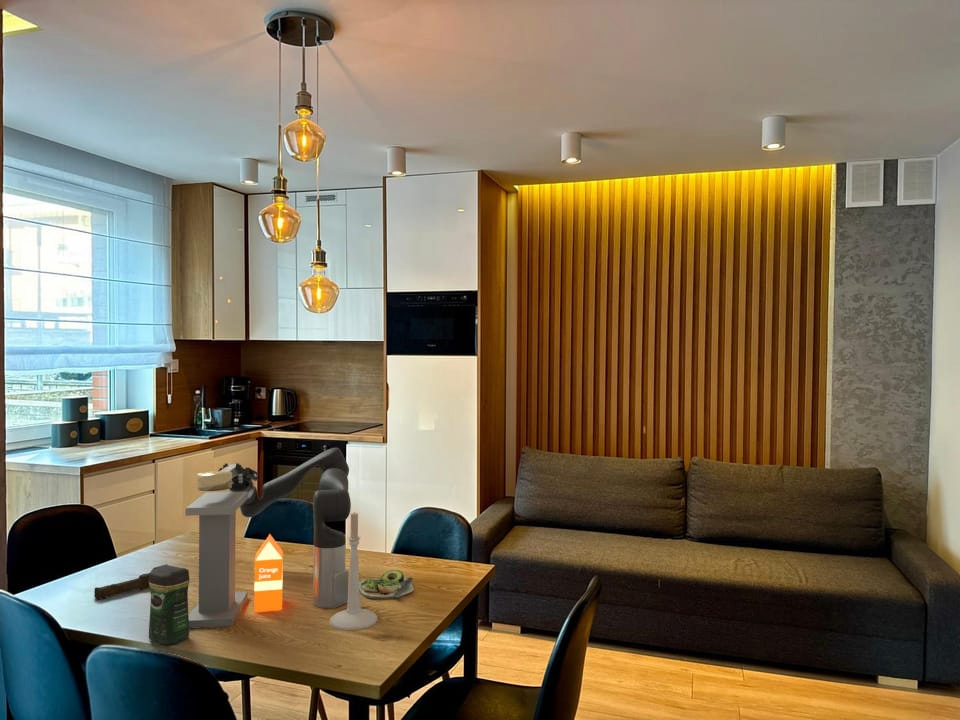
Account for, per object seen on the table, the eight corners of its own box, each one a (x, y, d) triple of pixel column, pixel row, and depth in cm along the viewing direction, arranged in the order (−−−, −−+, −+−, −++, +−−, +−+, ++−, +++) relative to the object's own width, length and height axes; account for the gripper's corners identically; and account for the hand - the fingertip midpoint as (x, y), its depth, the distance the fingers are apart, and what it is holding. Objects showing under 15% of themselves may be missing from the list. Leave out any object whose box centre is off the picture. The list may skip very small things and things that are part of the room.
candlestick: (326, 615, 192) (327, 508, 192) (371, 610, 196) (372, 505, 197) (333, 632, 180) (334, 518, 180) (381, 626, 184) (382, 515, 185)
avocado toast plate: (423, 600, 206) (423, 584, 206) (363, 605, 201) (363, 590, 201) (410, 580, 225) (410, 566, 225) (355, 585, 219) (355, 570, 219)
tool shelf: (205, 599, 204) (206, 492, 204) (247, 598, 206) (248, 491, 206) (184, 628, 182) (185, 508, 182) (231, 626, 184) (232, 506, 184)
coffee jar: (195, 637, 176) (195, 565, 176) (167, 648, 169) (168, 573, 170) (170, 630, 181) (170, 559, 181) (142, 640, 174) (143, 567, 174)
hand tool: (98, 602, 202) (98, 586, 202) (93, 599, 205) (93, 583, 205) (163, 587, 216) (163, 572, 216) (158, 584, 219) (158, 570, 219)
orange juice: (253, 612, 194) (254, 541, 194) (255, 601, 203) (255, 534, 203) (282, 609, 196) (283, 540, 196) (282, 599, 205) (283, 532, 205)
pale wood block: (219, 473, 216) (220, 460, 216) (249, 472, 217) (249, 459, 217) (193, 491, 186) (193, 476, 186) (227, 490, 187) (227, 476, 187)
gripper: (262, 495, 225) (253, 477, 211) (217, 496, 223) (205, 478, 209) (264, 474, 229) (255, 454, 214) (220, 475, 227) (209, 455, 212)
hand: (231, 466), depth 212 cm, fingers closed on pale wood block, 2 cm apart
